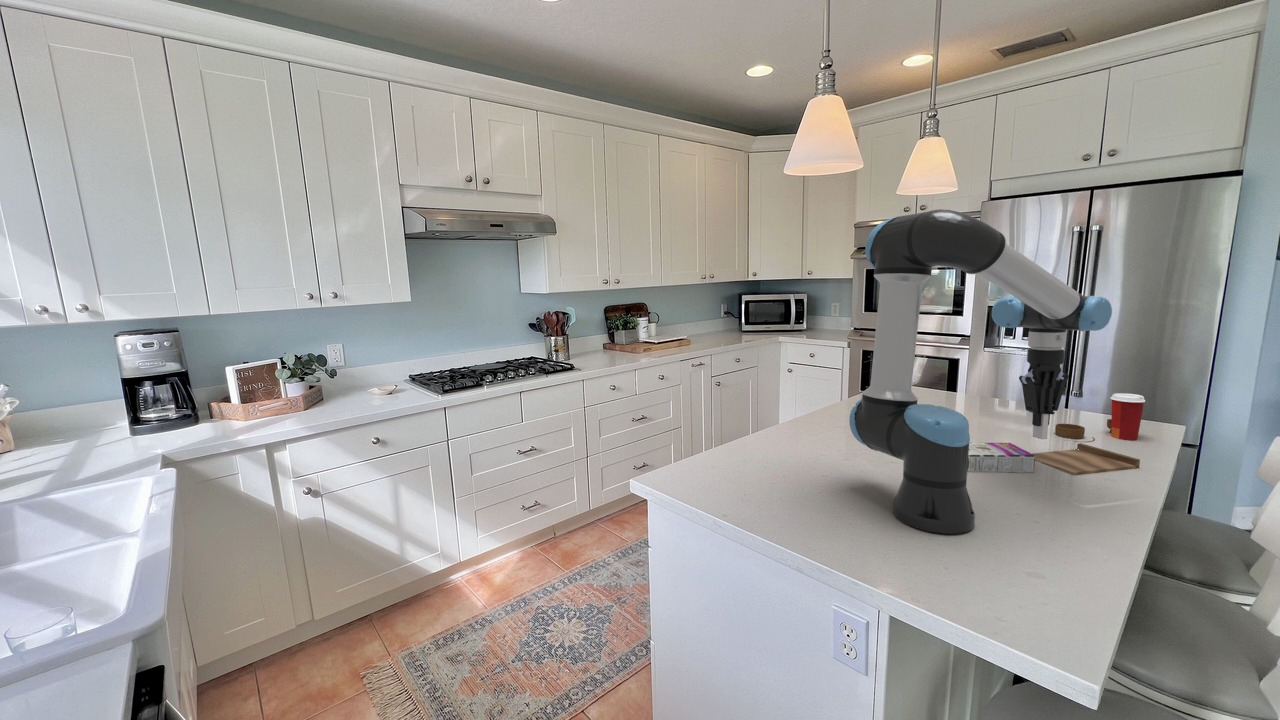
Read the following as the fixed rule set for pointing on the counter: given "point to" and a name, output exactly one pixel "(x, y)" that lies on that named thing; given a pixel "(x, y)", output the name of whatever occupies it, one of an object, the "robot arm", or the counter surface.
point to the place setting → (1074, 430)
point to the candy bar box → (999, 458)
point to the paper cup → (1126, 415)
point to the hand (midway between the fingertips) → (1039, 437)
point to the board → (1086, 460)
